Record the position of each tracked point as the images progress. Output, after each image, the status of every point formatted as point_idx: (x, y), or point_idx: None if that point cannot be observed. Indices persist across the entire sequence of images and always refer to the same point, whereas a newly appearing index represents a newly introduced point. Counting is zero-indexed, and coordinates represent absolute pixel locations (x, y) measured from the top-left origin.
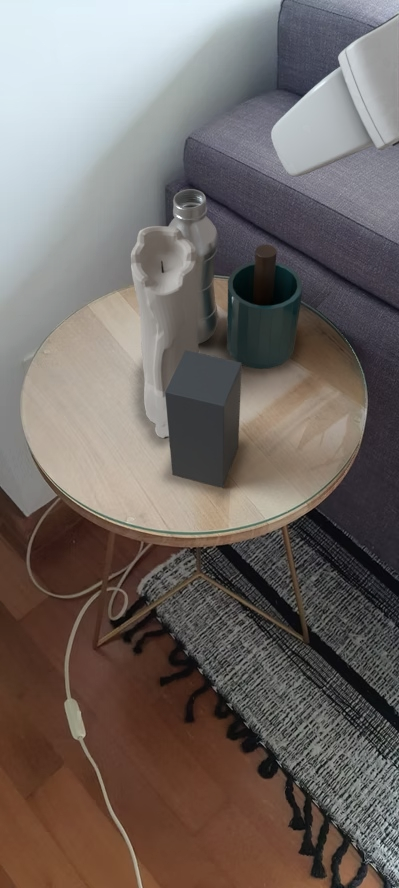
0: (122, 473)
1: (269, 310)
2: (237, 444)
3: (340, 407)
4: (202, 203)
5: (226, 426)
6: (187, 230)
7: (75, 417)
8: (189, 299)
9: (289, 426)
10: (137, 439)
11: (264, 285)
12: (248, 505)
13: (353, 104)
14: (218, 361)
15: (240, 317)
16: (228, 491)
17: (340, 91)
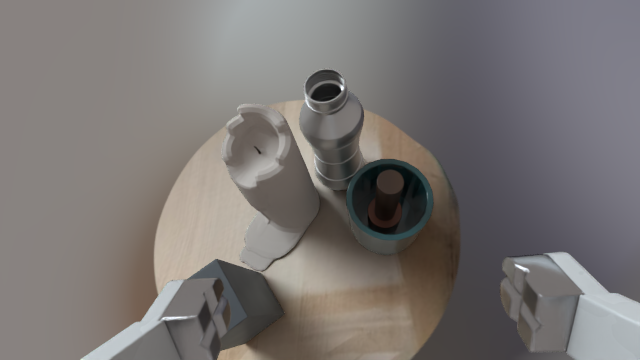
0: (194, 272)
1: (367, 234)
2: (279, 316)
3: (398, 339)
4: (331, 101)
5: None
6: (313, 116)
7: (203, 197)
8: (272, 194)
9: (339, 325)
10: (225, 248)
11: (380, 204)
12: None
13: None
14: (229, 297)
15: (348, 213)
16: (246, 349)
17: None
